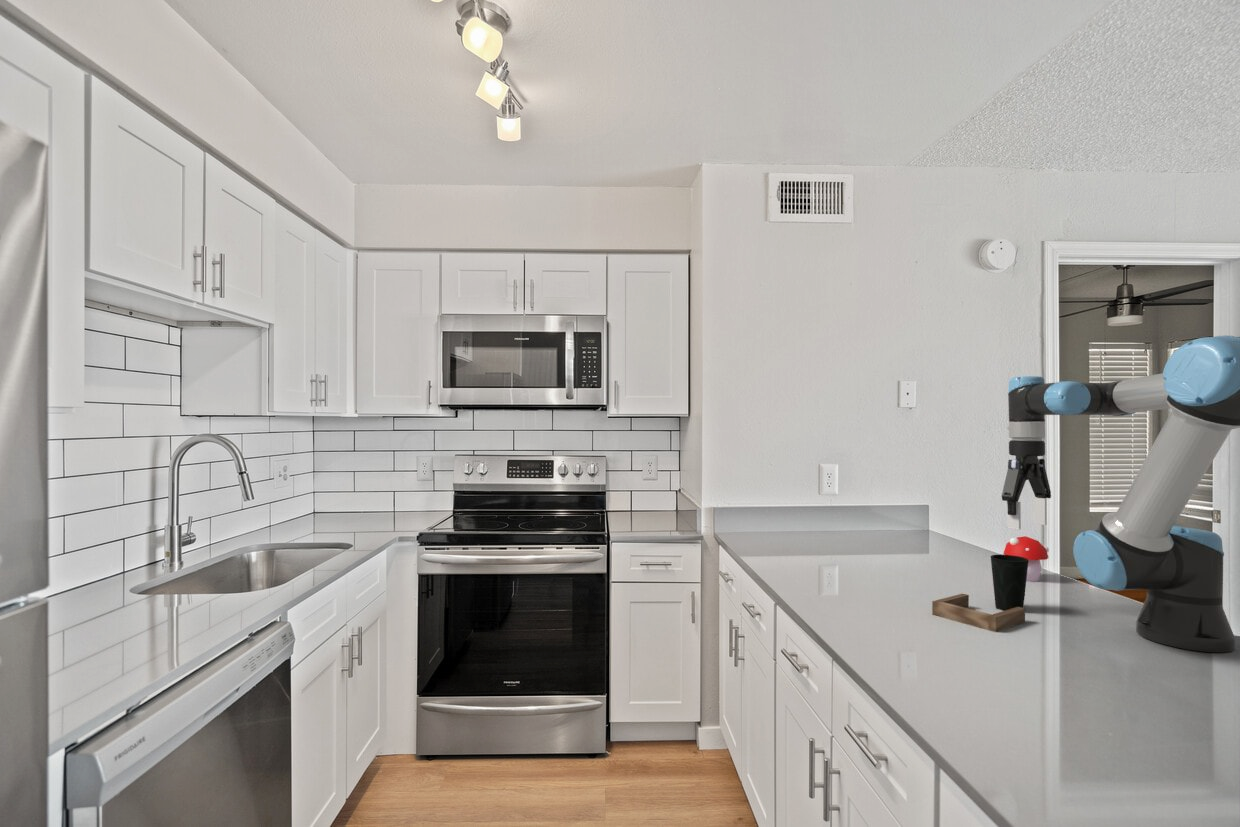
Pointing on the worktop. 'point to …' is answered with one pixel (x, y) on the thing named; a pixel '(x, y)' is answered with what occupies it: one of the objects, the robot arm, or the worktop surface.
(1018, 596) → the cup
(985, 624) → the wooden u-shaped bracket
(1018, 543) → the mushroom
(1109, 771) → the worktop surface
